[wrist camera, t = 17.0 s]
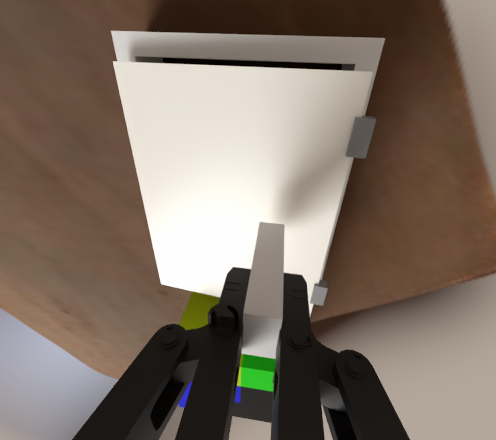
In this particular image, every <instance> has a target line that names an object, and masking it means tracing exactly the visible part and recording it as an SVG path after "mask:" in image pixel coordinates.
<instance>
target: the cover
mask: <svg viewBox="0 0 496 440" xmlns="http://www.w3.org/2000/svg"><path fill="white" fill-rule="evenodd" d="M113 65H114V69H115V74H116V78H117V83H118V88H119V92H120V97H121V101H122V106H123V111H124V115H125V120H126V124H127V129H128V134H129V138H130V143H131V147H132V152H133V157H134V161H135V166H136V170H137V175H138V180H139V184H140V189H141V193H142V198H143V203H144V207H145V212H146V216H147V221H148V226H149V230H150V235H151V239H152V244H153V249H154V253H155V258H156V262H157V267H158V272H159V276H160V281H161V284H163V285H167V286H172V287H176V288H181V289H185V290H189V291H194V292H198V293H203V294H207V295H211V296H216V297H221V293H222V290H223V286H224V283H225V279H226V276H227V273H228V272H229V271H230V270H231V269H232V268H233V267H239V268H246V269H251V267H252V261H253V256H254V250H255V245H256V239H257V234H258V228H259V223H260V222H266V223H276V224H285V230H284V273H291V274H299V275H302V276H303V277H304V279H305V281H306V282H307V290H308V302H309V313H310V315H311V311H312V307H313V304H316V305H320V306H323V304H324V300H325V297H326V293H327V290H328V281H326V280H321V279H320V276H321V272H322V269H323V265H324V261H325V257H326V253H327V249H328V245H329V241H330V237H331V234H332V230H333V226H334V222H335V218H336V214H337V210H338V206H339V202H340V199H341V195H342V191H343V187H344V183H345V179H346V175H347V171H348V167H349V164H350V160H351V157H354V158H364V159H365V158H366V155H367V151H368V148H369V144H370V141H371V137H372V134H373V130H374V127H375V124H376V120H377V119H376V118H375V117H373V116H362V113H363V109H364V105H365V101H366V97H367V93H368V90H369V86H370V82H371V78H372V74H373V72H371V71H346V70H321V69H296V68H271V67H246V66H221V65H196V64H171V63H146V62H121V61H113Z"/></svg>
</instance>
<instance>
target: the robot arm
mask: <svg viewBox="0 0 496 440" xmlns="http://www.w3.org/2000/svg"><path fill="white" fill-rule="evenodd" d="M284 230H285V224H276V223H266V222H260V223H259V228H258V234H257V239H256V245H255V250H254V256H253V261H252V267H251V269H246V268H239V267H233V268H232V269H231V270H230V271H229V272H228V273H227V276H226V279H225V283H224V286H223V290H222V293H221V297H220V300H219V304H216V305H215V306H213V307H212V308H211V309H210V311H209V312H208V324H207V325H205V326H203V327H200V328H196V329H190V330H185V328H183V327H182V326H181V325H177V324H170V325H166V326H164V327H162V328H160V329H159V330H158V331H157V332H156V333H155V334H154V335H153V337H152V338H151V339H150V341H149V342H148V343H147V344H146V346H145V347H144V348H143V350H142V351H141V352H140V353H139V355H138V356H137V357H136V359H135V360H134V361H133V362H132V364H131V365H130V366H129V367H128V369H127V370H126V371H125V373H124V374H123V375H122V376H121V378H120V379H119V380H118V382H117V383H116V384H115V385H114V387H113V388H112V389H111V391H110V392H109V393H108V394H107V396H106V397H105V398H104V400H103V401H102V402H101V403H100V405H99V406H98V407H97V409H96V410H95V411H94V413H93V414H92V415H91V416H90V418H89V419H88V420H87V421H86V423H85V424H84V425H83V426H82V428H81V429H80V430H79V432H78V433H77V434H76V435H75V437H74V438H73V439H72V440H159V438H160V436H161V434H162V432H163V431H164V429H165V427H166V425H167V423H168V421H169V420H170V418H171V416H172V414H173V412H174V411H175V409H176V407H177V405H178V403H179V401H180V400H181V398H182V396H183V394H184V392H185V390H186V389H187V387H188V385H189V383H190V382H192V384H191V388H190V391H189V394H188V398H187V401H186V404H185V408H184V411H183V415H182V418H181V421H180V425H179V428H178V431H177V435H176V438H175V440H228V439H229V433H230V427H231V420H232V414H233V408H234V401H235V395H236V388H237V382H238V376H239V369H240V358H241V354H247V355H253V356H260V357H266V358H272V359H275V358H276V360H275V370H274V376H273V381H272V383H273V404H272V425H271V426H272V427H271V440H324V429H323V419H322V408H321V404H322V405H323V408H324V412H325V415H326V418H327V422H328V425H329V428H330V432H331V435H332V438H333V440H410V439H409V437H408V435H407V433H406V431H405V429H404V427H403V425H402V423H401V421H400V419H399V417H398V415H397V414H396V411H395V409H394V407H393V405H392V403H391V402H390V400H389V398H388V396H387V394H386V392H385V390H384V388H383V386H382V384H381V382H380V380H379V378H378V376H377V374H376V372H375V370H374V368H373V366H372V365H371V363H370V362H369V360H368V359H367V358H366V357H364V356H363V355H362V354H361V353H359V352H356V351H354V350H344V351H341V352H340V353H338V352H336V351H334V350H332V349H329V348H327V347H326V346H324V345H322V344H321V343H320V342H319V341H317V339H316V338H315V337H314V335H313V333H312V331H311V325H310V313H309V302H308V290H307V282H306V281H305V279H304V277H303V276H302V275H299V274H291V273H284Z"/></svg>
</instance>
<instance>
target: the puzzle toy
mask: <svg viewBox="0 0 496 440" xmlns="http://www.w3.org/2000/svg"><path fill="white" fill-rule="evenodd" d="M219 300H220V297H216V296H211V295H207V294H203V293H198V292H194V291H193V292H192V294H191V297H190V299H189V302H188V304H187V306H186V309H185V311H184V313H183V316H182V318H181V321H180V323H179V325H181V326H182V327H183V328H185V330H190V329H196V328H200V327H203V326H205V325H207V324H208V312H209V311H210V309H211V308H212V307H213V306H215V305H216V304H219ZM275 360H276V358H275V359H272V358H266V357H260V356H253V355H247V354H241V358H240V369H239V376H238V382H237V388H236V395H235V401H234V408H233V414H232V416H236V417H241V418H248V419H253V420H259V421H264V422H270V423H271V422H272V404H273V383H272V381H273V376H274V370H275ZM191 384H192V382H190V383H189V385H188V387H187V389H186V390H185V392H184V394H183V396H182V398H181V400H180V401H179V407H184V408H185V404H186V401H187V398H188V394H189V391H190V388H191Z"/></svg>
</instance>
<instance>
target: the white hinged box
mask: <svg viewBox="0 0 496 440" xmlns="http://www.w3.org/2000/svg"><path fill="white" fill-rule="evenodd" d="M111 33H112V38H113V43H114V47H115V52H116V57H117V61H121V62H146V63H163V58H187V59H214V60H242V61H269V62H297V63H324V64H342V69H341V70H346V71H371V72H373V74H372V78H371V82H370V86H369V90H368V93H367V97H366V101H365V105H364V109H363V113H362V116H365V113H366V109H367V106H368V102H369V98H370V94H371V90H372V87H373V83H374V79H375V75H376V71H377V68H378V64H379V60H380V56H381V52H382V49H383V45H384V41H385V38H363V37H325V36H286V35H248V34H210V33H171V32H133V31H111ZM353 159H354V157H351V160H350V164H349V167H348V171H347V175H346V179H345V183H344V187H343V191H342V195H341V199H340V202H339V206H338V210H337V214H336V218H335V222H334V226H333V230H332V234H331V237H330V241H329V245H328V249H327V253H326V257H325V261H324V265H323V269H322V272H321V276H320V279H321V280H322V277H323V273H324V269H325V265H326V261H327V258H328V254H329V250H330V246H331V242H332V239H333V235H334V231H335V227H336V223H337V220H338V216H339V212H340V208H341V204H342V201H343V197H344V193H345V189H346V185H347V182H348V178H349V174H350V170H351V166H352V163H353Z"/></svg>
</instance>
